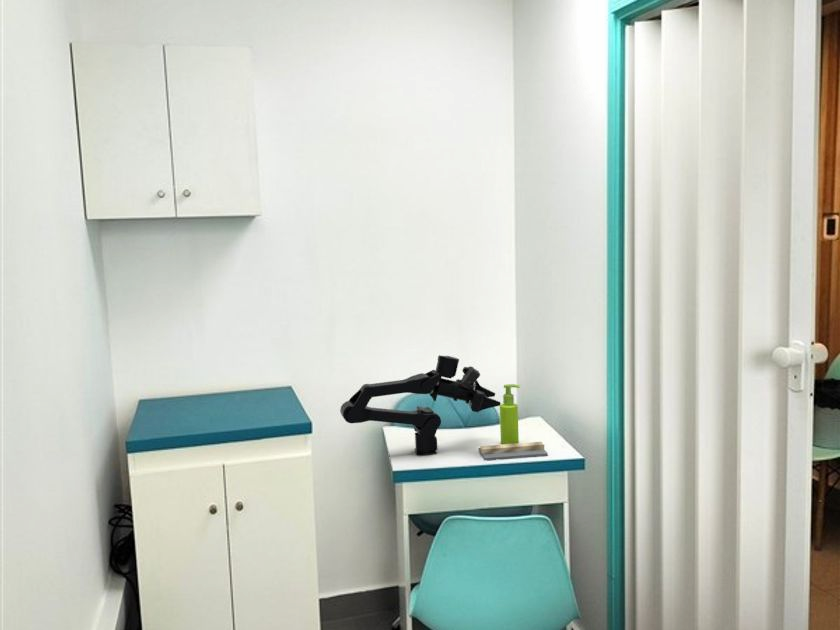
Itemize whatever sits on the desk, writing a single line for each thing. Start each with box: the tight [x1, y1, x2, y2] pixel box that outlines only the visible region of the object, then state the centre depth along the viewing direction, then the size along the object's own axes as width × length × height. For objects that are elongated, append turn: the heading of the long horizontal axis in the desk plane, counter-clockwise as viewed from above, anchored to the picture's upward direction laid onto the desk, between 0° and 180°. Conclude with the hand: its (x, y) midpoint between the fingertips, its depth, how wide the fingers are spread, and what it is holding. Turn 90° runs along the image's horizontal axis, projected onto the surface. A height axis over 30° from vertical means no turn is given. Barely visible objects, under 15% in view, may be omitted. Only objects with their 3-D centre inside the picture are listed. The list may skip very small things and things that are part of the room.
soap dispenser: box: [499, 383, 521, 445], centre depth 250 cm, size 6×7×20 cm
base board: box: [477, 447, 549, 461], centre depth 241 cm, size 20×11×1 cm, turn 96°
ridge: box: [479, 441, 545, 455], centre depth 241 cm, size 20×4×2 cm, turn 96°
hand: (497, 399), depth 248 cm, fingers open, 9 cm apart
